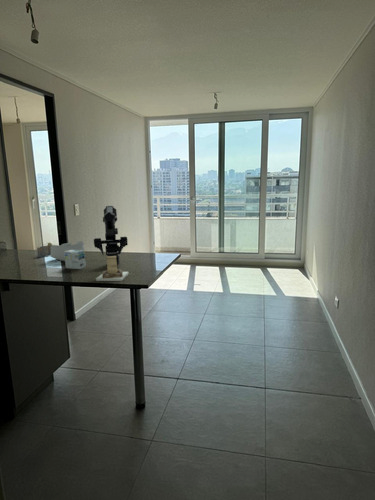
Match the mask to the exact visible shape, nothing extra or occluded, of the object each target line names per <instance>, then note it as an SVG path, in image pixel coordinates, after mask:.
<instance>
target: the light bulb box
mask: <svg viewBox="0 0 375 500" xmlns="http://www.w3.org/2000/svg"><path fill="white" fill-rule="evenodd" d="M85 252H86V251H85V249H84V250H69V251H65V252H64V256H65V261H64V263H65V269H69V270H72V269H73V270H81V269H84V268H86V267H87V263H86V254H85Z"/></svg>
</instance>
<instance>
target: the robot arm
mask: <svg viewBox="0 0 375 500" xmlns="http://www.w3.org/2000/svg"><path fill="white" fill-rule="evenodd" d="M117 216H118V215H117V209H116V208H115V207H114V206H113V205H106V206H105V207H104V209H103V216H102V222H103V223H104V226H105V227H104V229H105V230H104V231H105V232H104V233H105V235H104V236H105V239H102V238H101V237H96V238H93V245H94V248H97V249H99V250H100V253H101V255H102V256H104V249H105V256H106V257H107V256H116V260H117V265H118V264H119V263H120V255H121V253H122V251H123V249H124V248H125V247H127V246H128V245H129V244H128V237H127V236H120V239H116V238H117V237H116V235H118V234H119V230H118V229H119V228H118V227H116V222H117V221H118V217H117ZM103 245H105V248H104V249H103Z"/></svg>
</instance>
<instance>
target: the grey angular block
mask: <svg viewBox="0 0 375 500" xmlns="http://www.w3.org/2000/svg"><path fill="white" fill-rule="evenodd" d="M69 250H84V251H85V247H84V241H83V240H77V241H76V244H72V242H66V243H62V244H61V245H55V244H52V246H51V254H50V255H49V256H50V258H53V259H55V260H58V261H62V262H65V256H64V252H65V251H69Z"/></svg>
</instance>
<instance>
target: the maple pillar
mask: <svg viewBox="0 0 375 500" xmlns="http://www.w3.org/2000/svg"><path fill="white" fill-rule="evenodd" d="M106 263H107V265H106V266H107V268H106V269H107V271H108V275H109V274H117V270H118V264H117V260H116V256H107V255H106Z"/></svg>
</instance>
